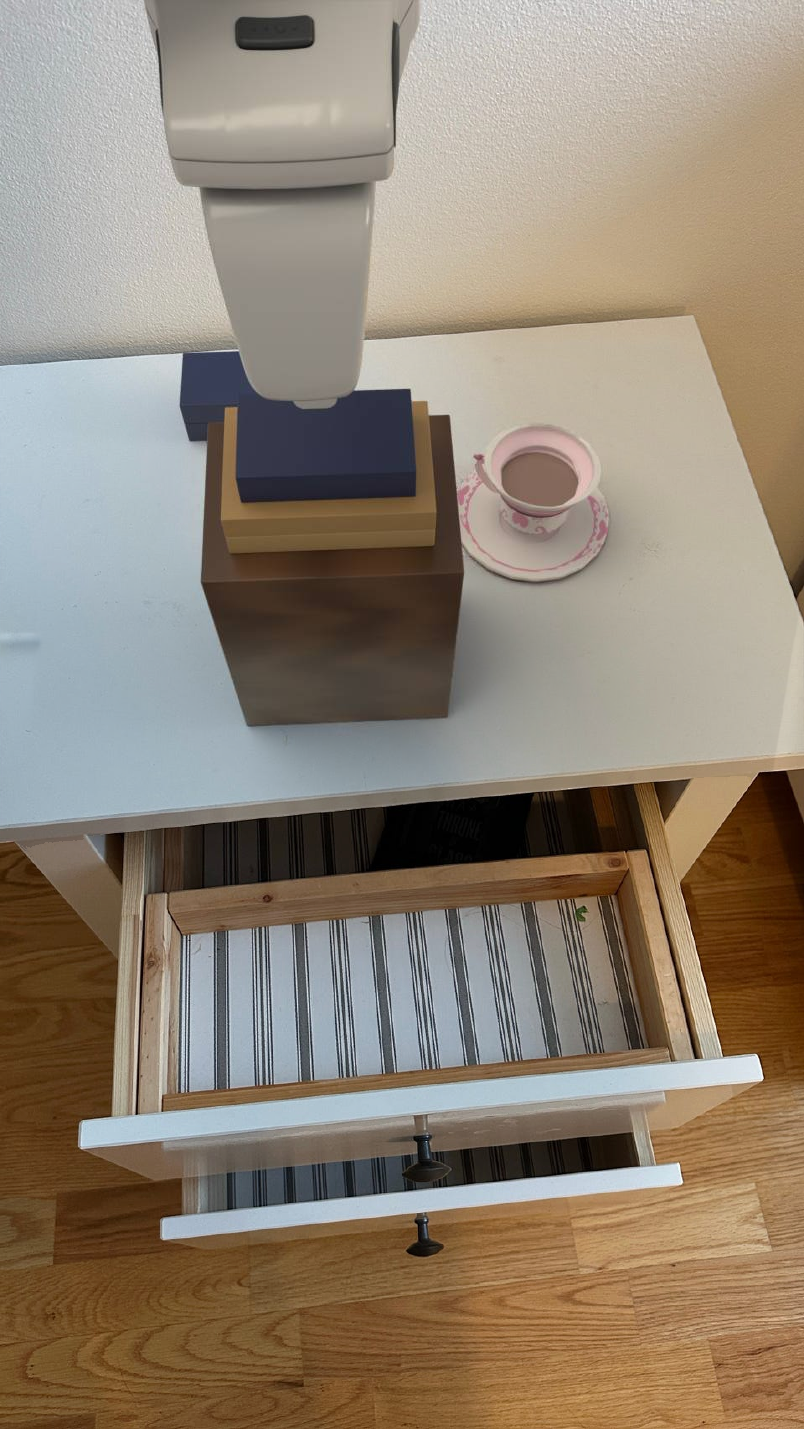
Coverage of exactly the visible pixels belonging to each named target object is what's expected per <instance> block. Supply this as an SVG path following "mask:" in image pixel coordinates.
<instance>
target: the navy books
mask: <svg viewBox="0 0 804 1429" xmlns="http://www.w3.org/2000/svg"><path fill="white" fill-rule="evenodd" d="M238 394H258V393H257V392H256V391H255V390H254V389H253V387H252V386H251V384H250V382H249V380H248V378H247V376H246V373H245V370H244V367H243V364H242V360H241V357H240V354H239V350H233V351H232V350H231V351H230V350H229V351H228V350H227V351H203V352H201V351H198V352H183V353H182V360H181V374H180V390H179V409H180V412H181V416H182V420H183V423H184V427H185V431H186V434H187V438H188V441H189V442H197V441H198V442H199V441H203V442H204V441H207V433H208V423H216V422H224V420H225V408H227V407H237V404H238Z"/></svg>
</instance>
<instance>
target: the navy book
mask: <svg viewBox="0 0 804 1429" xmlns="http://www.w3.org/2000/svg"><path fill="white" fill-rule="evenodd" d="M412 401H413V400H412V389H411V388H388V389H387V388H386V389H354V391H353V392H352V393H351V394H350V395H348V396H346V397H342V398H337V401H336V404H335V405H334V406H332V407H330V408H320V409H302V408H299V407H297V406H296V405H295V404H294V403H293V401H276V400H268V399H266V398H264V397H262V396H261V395H259V394H238V404H237V438H236V471H235V479H236V483H237V488H238V492H239V496H240V501H241V503H250V502H278V501H306V500H334V499H361V498H389V497H415V496H416V475H417V470H416V456H415V442H414V428H413V414H412Z"/></svg>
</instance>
